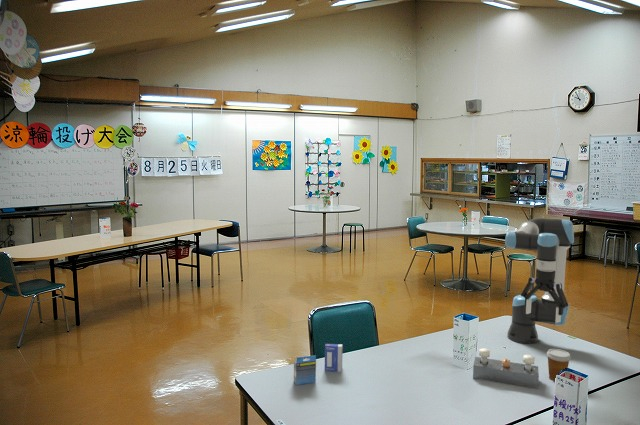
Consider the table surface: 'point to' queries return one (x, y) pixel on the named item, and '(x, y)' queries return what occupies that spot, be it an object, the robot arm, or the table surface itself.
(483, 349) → the knob
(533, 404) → the table surface
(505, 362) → the dial
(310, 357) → the label tape box
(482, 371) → the console
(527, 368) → the knob
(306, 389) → the table surface
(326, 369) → the walkman
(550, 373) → the disposable coffee cup
